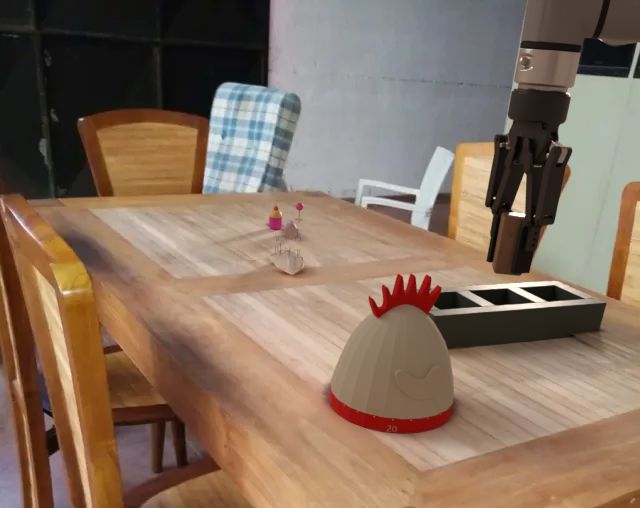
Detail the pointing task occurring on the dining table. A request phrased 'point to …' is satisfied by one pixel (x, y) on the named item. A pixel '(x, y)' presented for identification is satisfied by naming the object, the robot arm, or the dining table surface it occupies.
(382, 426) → the kitchen timer
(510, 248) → the wooden block
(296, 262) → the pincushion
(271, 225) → the toys
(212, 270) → the dining table surface
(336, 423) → the dining table surface
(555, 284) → the socket bar
